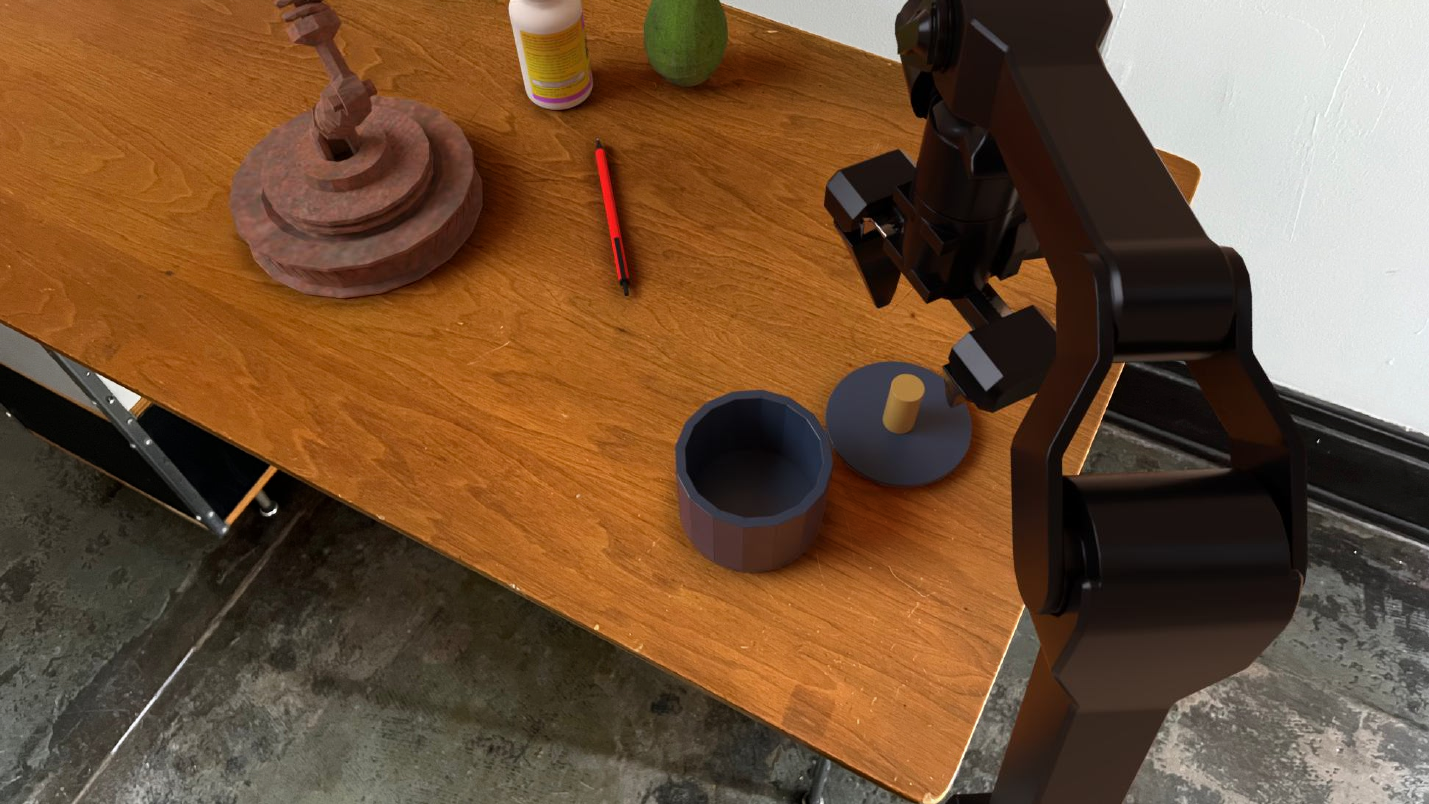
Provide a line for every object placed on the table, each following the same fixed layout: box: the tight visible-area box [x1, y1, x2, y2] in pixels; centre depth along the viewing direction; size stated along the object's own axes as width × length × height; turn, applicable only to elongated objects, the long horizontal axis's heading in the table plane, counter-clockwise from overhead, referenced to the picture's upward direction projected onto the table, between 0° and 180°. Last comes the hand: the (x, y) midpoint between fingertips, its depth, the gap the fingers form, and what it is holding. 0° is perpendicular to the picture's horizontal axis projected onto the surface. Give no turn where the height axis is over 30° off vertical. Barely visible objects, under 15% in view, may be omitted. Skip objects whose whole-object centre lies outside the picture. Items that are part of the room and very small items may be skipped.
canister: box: [674, 389, 834, 574], centre depth 67 cm, size 10×10×8 cm
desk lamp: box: [228, 0, 484, 300], centre depth 71 cm, size 21×32×40 cm, turn 36°
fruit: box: [643, 0, 729, 88], centre depth 91 cm, size 8×8×12 cm
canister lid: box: [824, 360, 973, 489], centre depth 71 cm, size 11×11×6 cm
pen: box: [594, 138, 631, 297], centre depth 85 cm, size 1×19×1 cm, turn 11°
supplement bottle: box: [508, 0, 594, 111], centre depth 90 cm, size 7×7×13 cm
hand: (918, 352), depth 65 cm, fingers open, 9 cm apart
